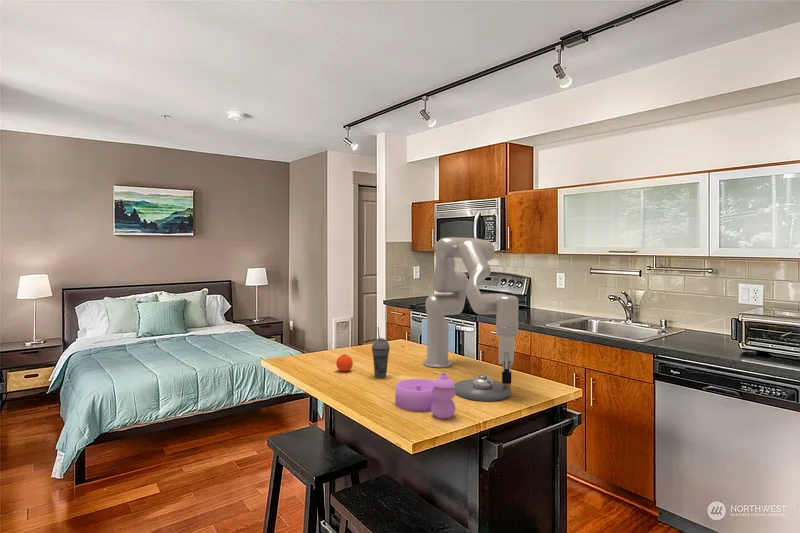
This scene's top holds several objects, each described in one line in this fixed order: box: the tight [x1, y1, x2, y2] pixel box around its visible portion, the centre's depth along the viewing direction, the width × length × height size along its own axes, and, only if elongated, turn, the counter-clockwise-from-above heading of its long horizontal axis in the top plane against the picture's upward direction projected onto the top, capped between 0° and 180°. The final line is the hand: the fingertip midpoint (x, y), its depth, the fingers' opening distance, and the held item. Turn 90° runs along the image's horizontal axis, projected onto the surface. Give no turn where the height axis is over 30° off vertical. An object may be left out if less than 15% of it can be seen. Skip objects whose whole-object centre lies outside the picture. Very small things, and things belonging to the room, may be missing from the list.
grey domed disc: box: [453, 378, 512, 402], centre depth 171 cm, size 20×20×7 cm
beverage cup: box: [371, 326, 391, 379], centre depth 190 cm, size 7×7×20 cm
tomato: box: [335, 354, 354, 373], centre depth 199 cm, size 8×7×7 cm
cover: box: [472, 374, 494, 390], centre depth 170 cm, size 7×7×4 cm
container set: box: [394, 372, 457, 419], centre depth 154 cm, size 25×15×13 cm, turn 32°
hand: (506, 383), depth 166 cm, fingers closed
